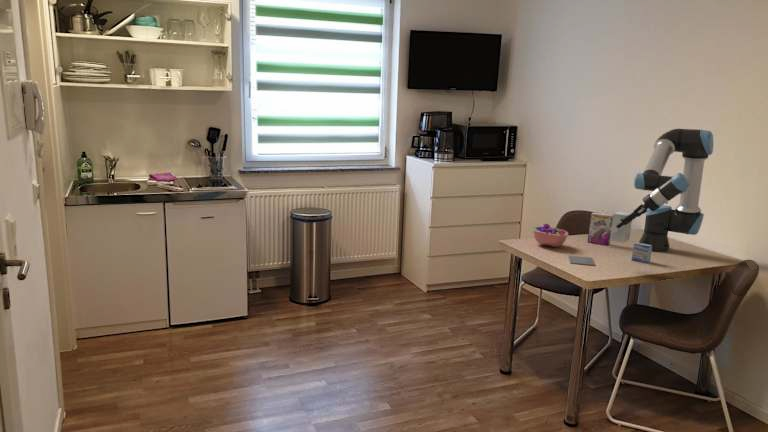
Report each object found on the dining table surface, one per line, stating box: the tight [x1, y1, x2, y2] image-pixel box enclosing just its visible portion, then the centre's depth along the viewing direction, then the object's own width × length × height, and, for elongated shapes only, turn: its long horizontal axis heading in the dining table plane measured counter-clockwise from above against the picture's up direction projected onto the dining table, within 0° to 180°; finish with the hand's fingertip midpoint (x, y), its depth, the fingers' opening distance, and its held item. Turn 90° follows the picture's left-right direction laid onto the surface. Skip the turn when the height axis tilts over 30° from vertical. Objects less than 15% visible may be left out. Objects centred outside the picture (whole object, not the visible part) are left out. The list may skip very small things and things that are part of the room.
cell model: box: [532, 223, 569, 248], centre depth 302 cm, size 17×20×11 cm
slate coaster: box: [568, 255, 596, 267], centre depth 276 cm, size 11×13×1 cm
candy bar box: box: [587, 212, 614, 247], centre depth 311 cm, size 11×5×16 cm, turn 58°
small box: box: [610, 210, 633, 244], centre depth 265 cm, size 8×6×13 cm
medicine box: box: [631, 241, 653, 264], centre depth 279 cm, size 8×4×9 cm, turn 53°
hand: (613, 229), depth 267 cm, fingers closed on small box, 9 cm apart
